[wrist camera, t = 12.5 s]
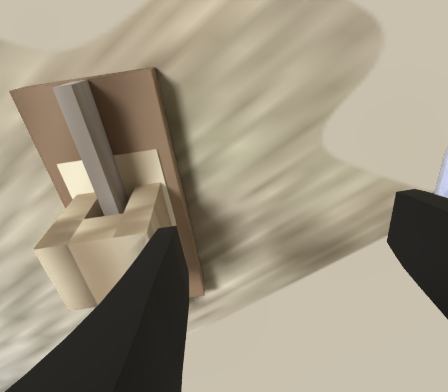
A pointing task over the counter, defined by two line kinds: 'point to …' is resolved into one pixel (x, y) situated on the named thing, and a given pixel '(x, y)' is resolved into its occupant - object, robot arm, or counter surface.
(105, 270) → the clip
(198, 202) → the counter surface
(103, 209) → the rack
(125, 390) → the robot arm
